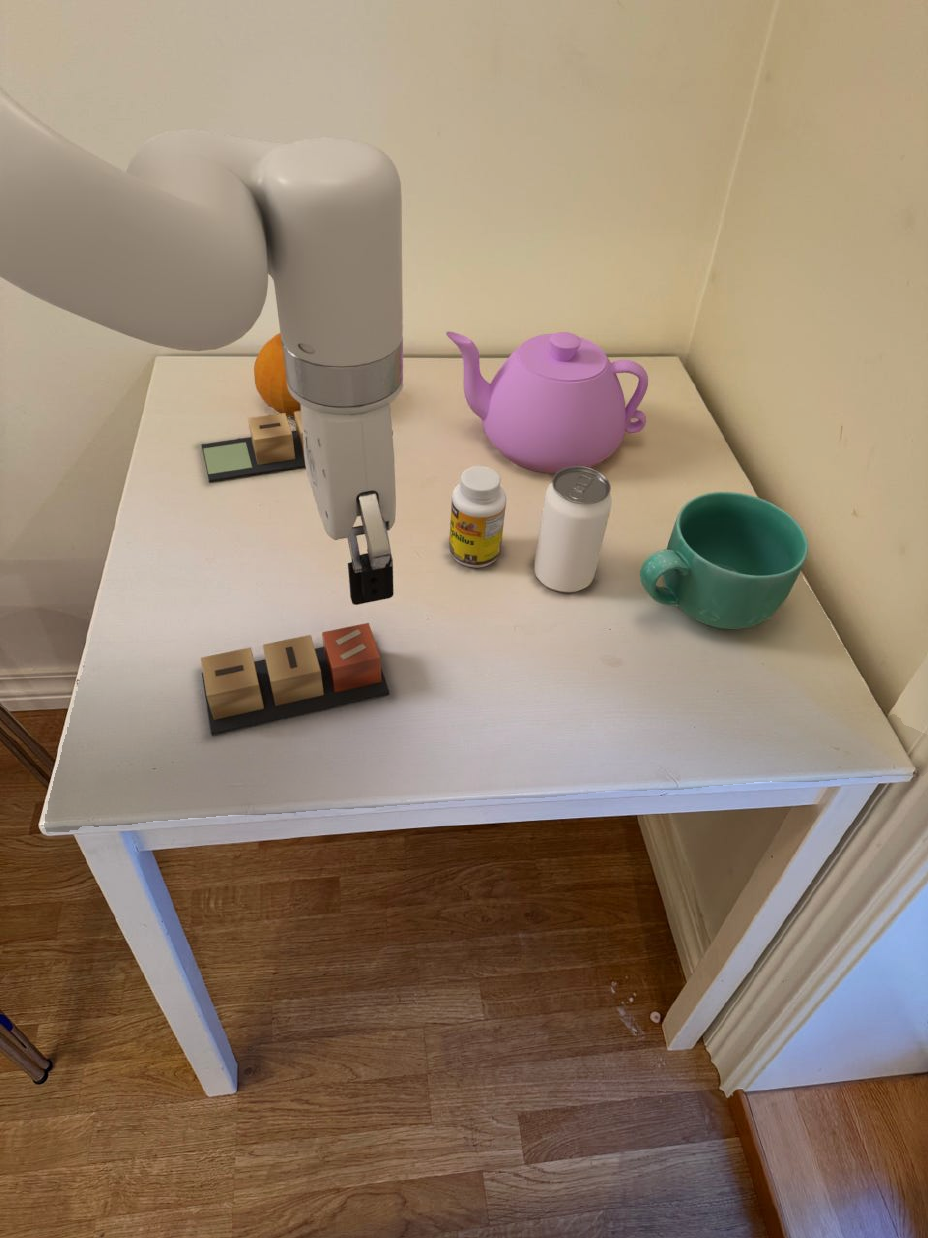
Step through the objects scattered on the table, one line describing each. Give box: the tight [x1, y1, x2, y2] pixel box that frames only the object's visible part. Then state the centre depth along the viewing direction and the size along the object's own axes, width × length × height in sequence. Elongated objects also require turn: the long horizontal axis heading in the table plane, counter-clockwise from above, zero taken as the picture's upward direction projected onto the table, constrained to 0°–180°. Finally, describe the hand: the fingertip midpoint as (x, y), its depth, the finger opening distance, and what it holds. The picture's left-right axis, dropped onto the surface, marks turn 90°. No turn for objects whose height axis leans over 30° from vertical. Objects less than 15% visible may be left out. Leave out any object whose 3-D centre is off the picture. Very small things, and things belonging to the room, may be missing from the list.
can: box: [533, 466, 613, 594], centre depth 84 cm, size 6×6×12 cm
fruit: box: [253, 332, 301, 417], centre depth 103 cm, size 12×12×10 cm
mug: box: [639, 491, 809, 630], centre depth 83 cm, size 17×13×10 cm
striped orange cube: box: [321, 622, 382, 692], centre depth 76 cm, size 4×4×4 cm
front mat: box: [201, 646, 390, 736], centre depth 76 cm, size 16×7×1 cm, turn 108°
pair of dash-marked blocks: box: [247, 411, 304, 465], centre depth 98 cm, size 10×4×4 cm, turn 108°
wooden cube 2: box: [262, 634, 324, 706], centre depth 75 cm, size 4×4×4 cm
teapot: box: [445, 331, 649, 475], centre depth 99 cm, size 25×18×14 cm
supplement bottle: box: [448, 465, 507, 569], centre depth 86 cm, size 6×6×10 cm
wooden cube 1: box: [200, 647, 264, 720], centre depth 73 cm, size 4×4×4 cm
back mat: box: [201, 430, 306, 483], centre depth 99 cm, size 16×7×1 cm, turn 108°
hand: (357, 555), depth 66 cm, fingers open, 9 cm apart
